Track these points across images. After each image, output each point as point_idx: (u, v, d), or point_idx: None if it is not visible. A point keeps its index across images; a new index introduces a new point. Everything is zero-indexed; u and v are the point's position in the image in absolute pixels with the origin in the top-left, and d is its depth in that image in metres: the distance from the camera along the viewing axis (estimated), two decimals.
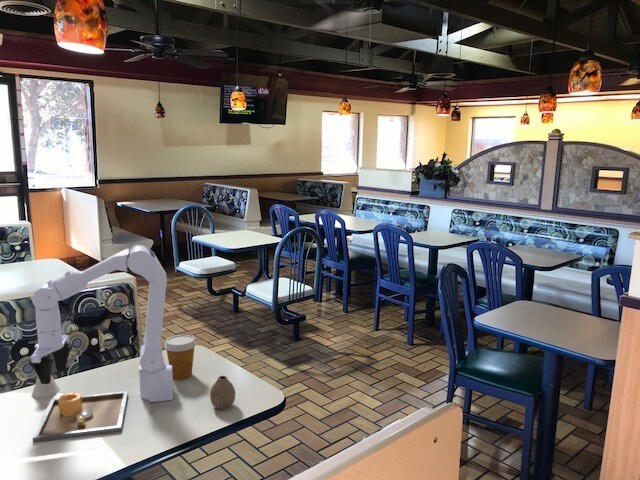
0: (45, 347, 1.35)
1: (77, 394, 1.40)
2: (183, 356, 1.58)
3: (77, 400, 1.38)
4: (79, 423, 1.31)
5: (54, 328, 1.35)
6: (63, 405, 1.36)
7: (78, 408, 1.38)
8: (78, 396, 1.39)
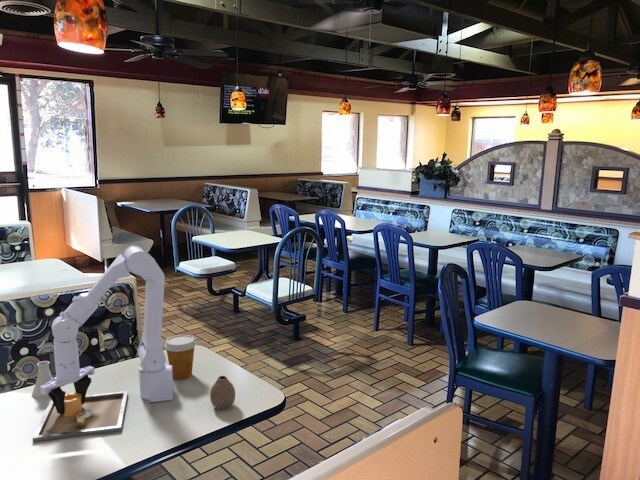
0: (59, 379, 1.35)
1: (77, 394, 1.40)
2: (183, 356, 1.58)
3: (77, 400, 1.38)
4: (79, 423, 1.31)
5: (74, 360, 1.35)
6: None
7: (78, 408, 1.38)
8: (78, 396, 1.39)
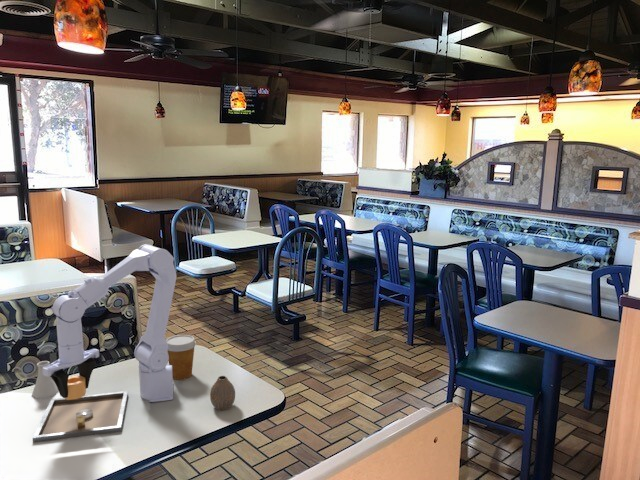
0: (62, 361, 1.29)
1: (81, 377, 1.35)
2: (183, 356, 1.58)
3: (81, 383, 1.32)
4: (79, 423, 1.31)
5: (80, 340, 1.31)
6: None
7: (82, 392, 1.33)
8: (82, 379, 1.34)
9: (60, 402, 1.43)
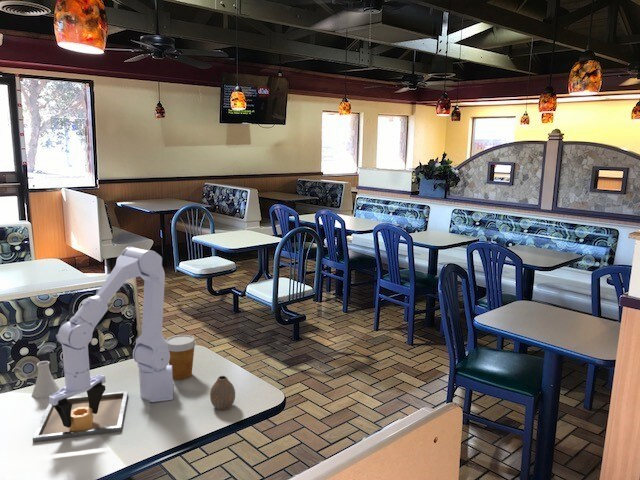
0: (68, 388, 1.27)
1: (88, 408, 1.33)
2: (183, 356, 1.58)
3: (88, 415, 1.30)
4: None
5: (88, 366, 1.29)
6: (73, 420, 1.29)
7: (89, 423, 1.31)
8: (89, 411, 1.32)
9: None
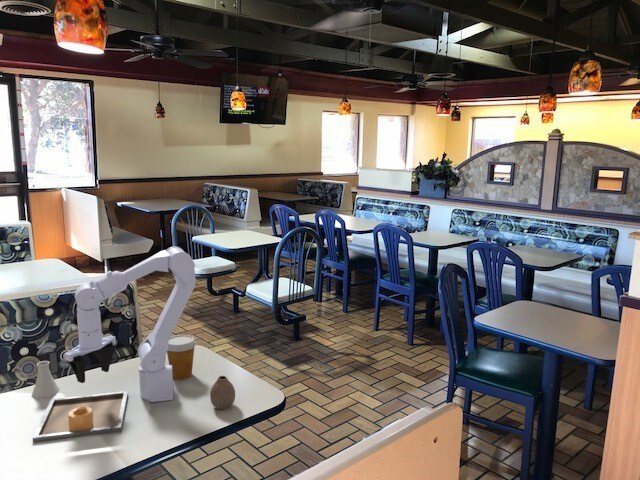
0: (82, 346, 1.37)
1: (88, 408, 1.33)
2: (183, 356, 1.58)
3: (88, 415, 1.30)
4: None
5: (96, 327, 1.37)
6: (73, 420, 1.29)
7: (89, 423, 1.31)
8: (89, 411, 1.32)
9: (60, 402, 1.43)
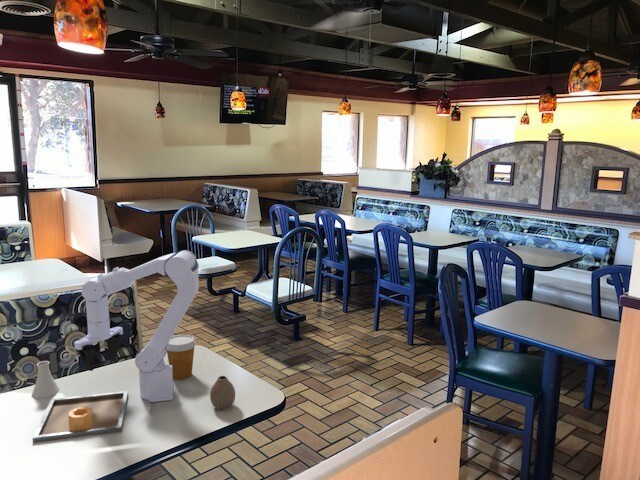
0: (91, 336, 1.44)
1: (88, 408, 1.33)
2: (183, 356, 1.58)
3: (88, 415, 1.30)
4: None
5: (100, 319, 1.43)
6: (73, 420, 1.29)
7: (89, 423, 1.31)
8: (89, 411, 1.32)
9: (60, 402, 1.43)
